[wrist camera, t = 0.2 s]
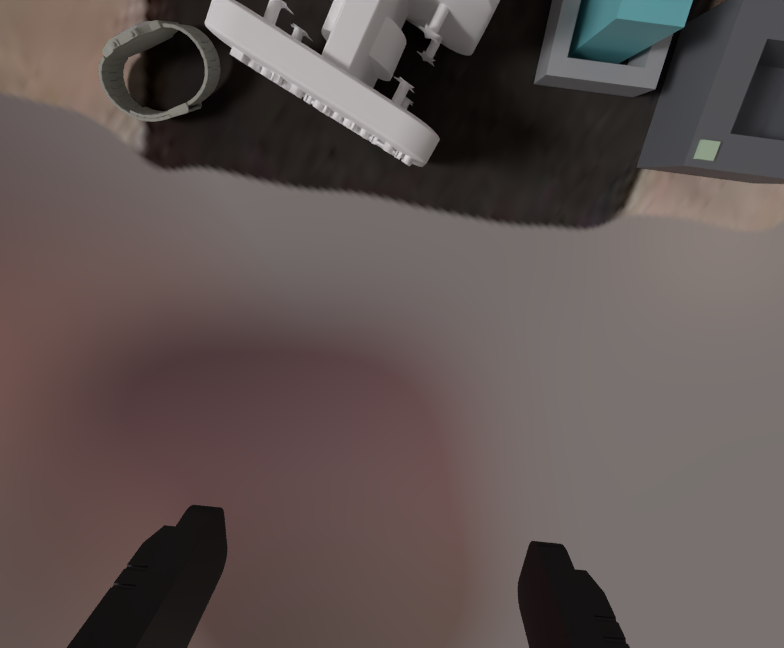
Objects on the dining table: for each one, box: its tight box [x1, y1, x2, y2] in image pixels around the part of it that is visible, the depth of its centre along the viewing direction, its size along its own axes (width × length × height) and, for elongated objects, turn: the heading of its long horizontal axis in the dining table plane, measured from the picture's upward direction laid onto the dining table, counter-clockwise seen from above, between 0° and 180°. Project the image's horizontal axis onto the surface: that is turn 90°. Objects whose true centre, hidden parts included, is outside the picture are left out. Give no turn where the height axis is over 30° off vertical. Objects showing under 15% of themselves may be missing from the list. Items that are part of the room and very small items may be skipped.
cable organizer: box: [205, 0, 500, 167], centre depth 25 cm, size 15×11×12 cm
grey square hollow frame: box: [534, 0, 673, 97], centre depth 28 cm, size 8×8×3 cm
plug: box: [567, 0, 693, 64], centre depth 25 cm, size 4×4×10 cm
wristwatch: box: [98, 20, 220, 122], centre depth 30 cm, size 9×6×5 cm
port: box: [636, 0, 784, 184], centre depth 28 cm, size 10×10×6 cm
